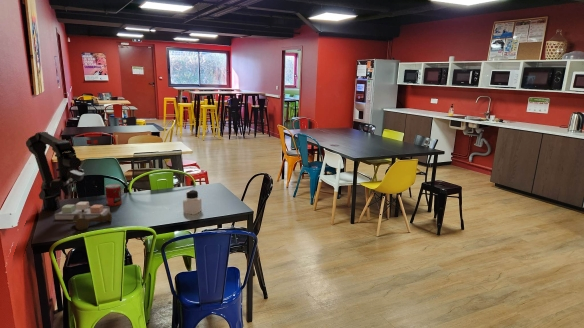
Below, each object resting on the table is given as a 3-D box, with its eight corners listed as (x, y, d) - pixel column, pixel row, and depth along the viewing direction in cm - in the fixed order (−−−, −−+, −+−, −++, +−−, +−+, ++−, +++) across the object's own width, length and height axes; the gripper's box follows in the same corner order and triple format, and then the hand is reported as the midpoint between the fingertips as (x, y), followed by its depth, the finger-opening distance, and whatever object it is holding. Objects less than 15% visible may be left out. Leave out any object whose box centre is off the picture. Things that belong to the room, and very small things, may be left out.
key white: (76, 209, 194) (75, 204, 193) (80, 206, 199) (79, 201, 198) (85, 209, 194) (84, 204, 194) (89, 206, 199) (88, 201, 198)
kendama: (113, 225, 187) (67, 232, 175) (109, 219, 195) (64, 226, 183) (113, 213, 186) (66, 220, 174) (108, 208, 194) (63, 214, 182)
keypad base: (55, 219, 191) (54, 212, 190) (67, 211, 202) (66, 204, 201) (100, 219, 192) (99, 212, 192) (109, 211, 204) (109, 204, 203)
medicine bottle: (201, 211, 209) (201, 190, 206) (194, 215, 202) (193, 193, 200) (190, 209, 211) (190, 188, 209) (183, 213, 205) (182, 192, 202)
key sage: (62, 212, 194) (61, 207, 193) (66, 209, 198) (66, 204, 198) (71, 212, 194) (70, 207, 194) (75, 209, 199) (75, 204, 198)
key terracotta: (90, 212, 195) (90, 207, 194) (94, 209, 199) (93, 204, 199) (99, 212, 195) (99, 207, 195) (103, 209, 200) (102, 204, 199)
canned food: (116, 206, 211) (114, 187, 209) (103, 205, 213) (102, 186, 210) (124, 202, 218) (123, 184, 216) (112, 201, 220) (111, 183, 218)
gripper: (72, 170, 182) (75, 201, 186) (89, 162, 201) (91, 190, 204) (47, 170, 182) (51, 201, 185) (67, 161, 200) (70, 190, 203)
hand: (67, 195), depth 194 cm, fingers closed
